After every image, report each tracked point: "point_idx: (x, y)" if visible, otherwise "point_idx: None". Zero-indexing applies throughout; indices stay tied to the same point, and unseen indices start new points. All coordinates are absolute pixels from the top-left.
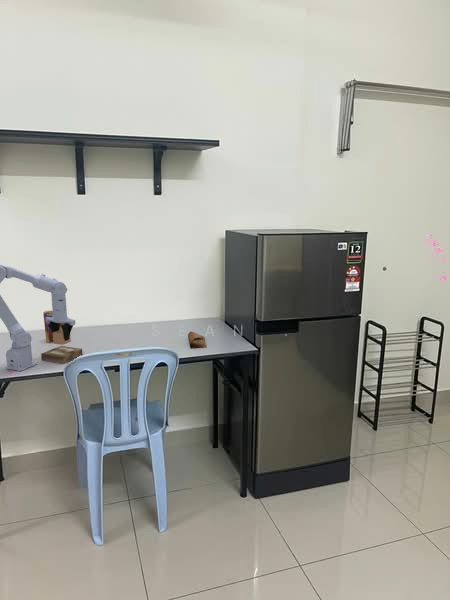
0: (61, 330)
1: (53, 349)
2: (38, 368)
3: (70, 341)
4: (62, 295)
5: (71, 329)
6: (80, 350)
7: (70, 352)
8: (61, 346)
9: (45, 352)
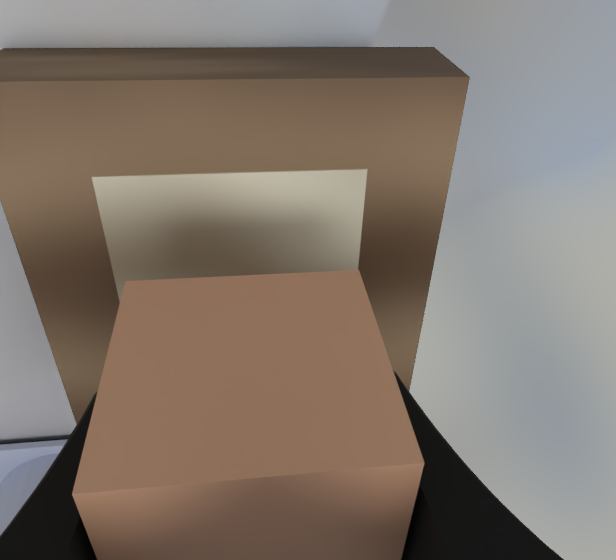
0: (180, 531)
1: (57, 277)
2: None
3: (360, 282)
4: None
5: (544, 546)
6: (456, 116)
7: (390, 272)
8: (19, 115)
9: (83, 387)
